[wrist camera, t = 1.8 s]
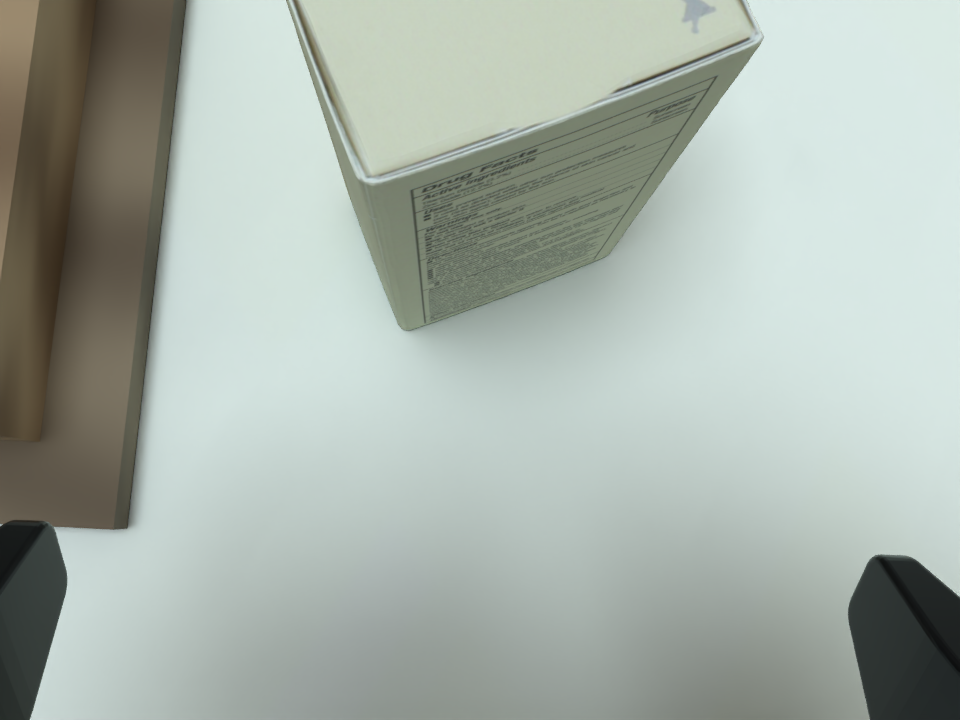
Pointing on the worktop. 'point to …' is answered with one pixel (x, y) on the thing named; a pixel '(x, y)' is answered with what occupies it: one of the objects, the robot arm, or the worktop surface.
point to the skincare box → (509, 128)
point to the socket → (79, 246)
